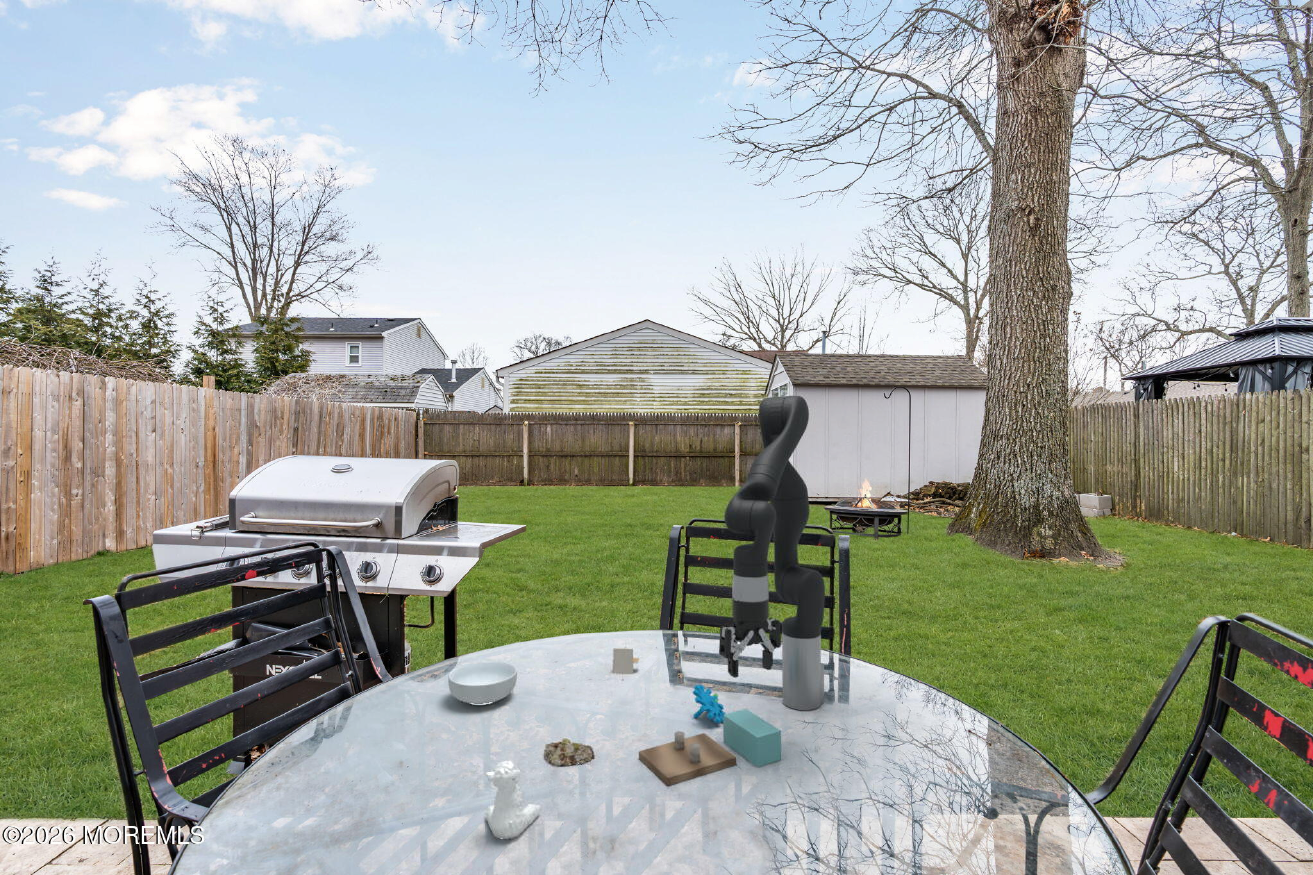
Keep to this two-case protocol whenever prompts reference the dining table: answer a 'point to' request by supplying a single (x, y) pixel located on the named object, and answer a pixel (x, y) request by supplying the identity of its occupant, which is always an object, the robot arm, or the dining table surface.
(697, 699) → the blue lumpy branched piece
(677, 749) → the base plate
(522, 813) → the white creature statuette
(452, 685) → the cereal bowl
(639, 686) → the dining table surface
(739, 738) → the teal rectangular block
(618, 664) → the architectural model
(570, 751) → the mineral rock
